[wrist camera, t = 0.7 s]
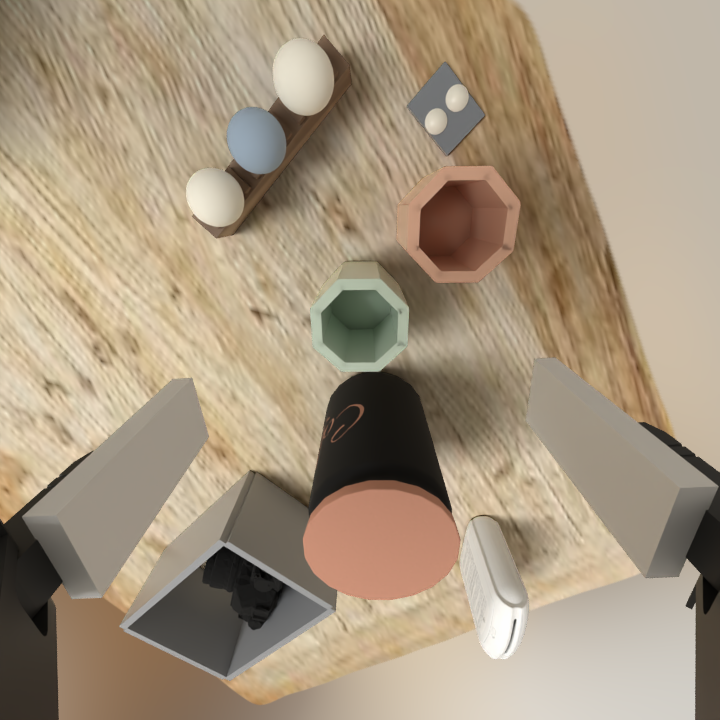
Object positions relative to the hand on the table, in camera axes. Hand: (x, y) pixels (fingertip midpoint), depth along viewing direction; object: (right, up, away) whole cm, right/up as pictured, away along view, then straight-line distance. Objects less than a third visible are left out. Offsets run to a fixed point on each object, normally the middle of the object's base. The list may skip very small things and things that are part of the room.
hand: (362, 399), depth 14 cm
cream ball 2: (-4, +21, +11) cm, 24 cm away
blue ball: (-7, +18, +13) cm, 23 cm away
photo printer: (+16, -23, +35) cm, 45 cm away
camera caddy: (-15, -24, +35) cm, 45 cm away
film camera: (-15, -24, +35) cm, 45 cm away
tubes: (+3, +14, +19) cm, 23 cm away
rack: (-7, +19, +16) cm, 26 cm away
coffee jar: (+2, -4, +27) cm, 27 cm away
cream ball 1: (-11, +14, +14) cm, 23 cm away
